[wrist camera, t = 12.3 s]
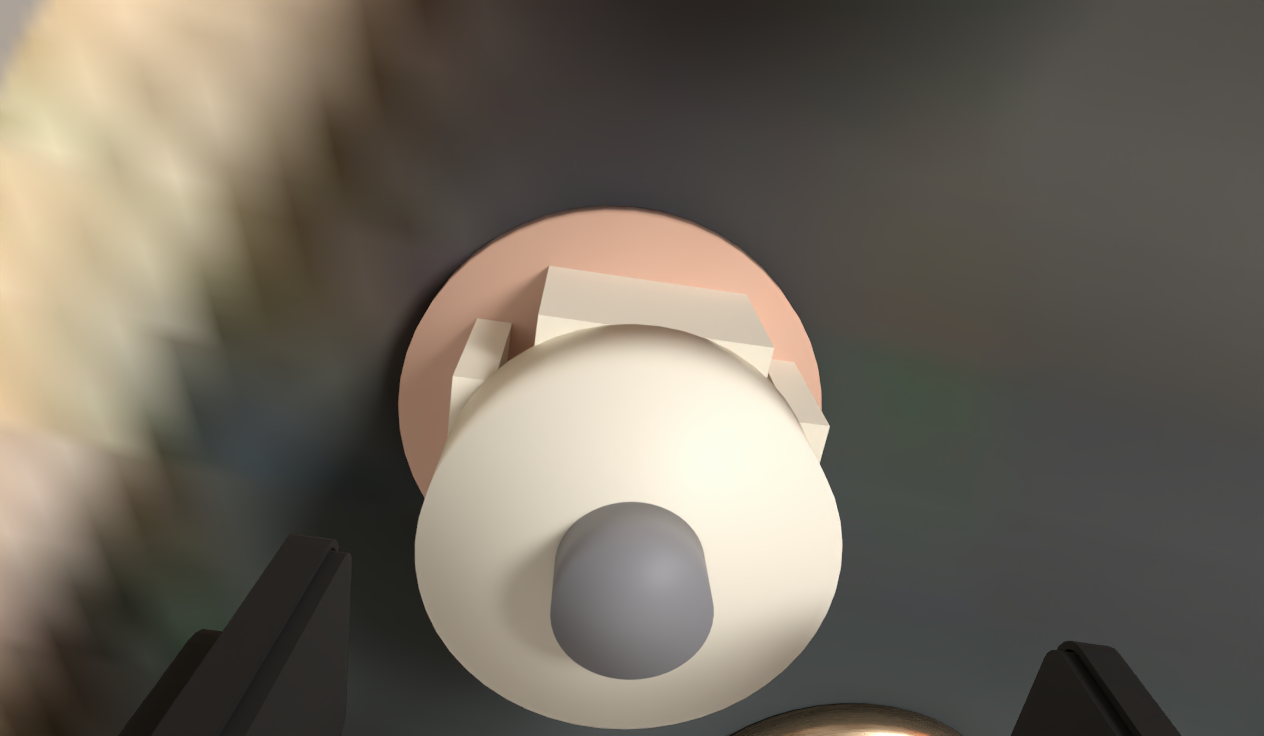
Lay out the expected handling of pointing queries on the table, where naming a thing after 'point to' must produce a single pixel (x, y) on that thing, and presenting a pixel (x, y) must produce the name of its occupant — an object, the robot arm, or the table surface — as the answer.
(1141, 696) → the robot arm
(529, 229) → the coaster
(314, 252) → the table surface
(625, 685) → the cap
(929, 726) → the beige piece
